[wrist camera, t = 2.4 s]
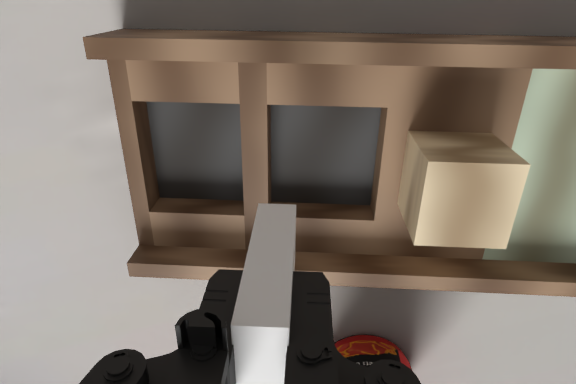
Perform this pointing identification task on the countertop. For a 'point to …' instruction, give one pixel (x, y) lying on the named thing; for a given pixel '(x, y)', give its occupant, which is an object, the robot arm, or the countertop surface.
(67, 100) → the countertop surface
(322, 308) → the robot arm
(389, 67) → the track
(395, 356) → the canned food
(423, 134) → the maple block
